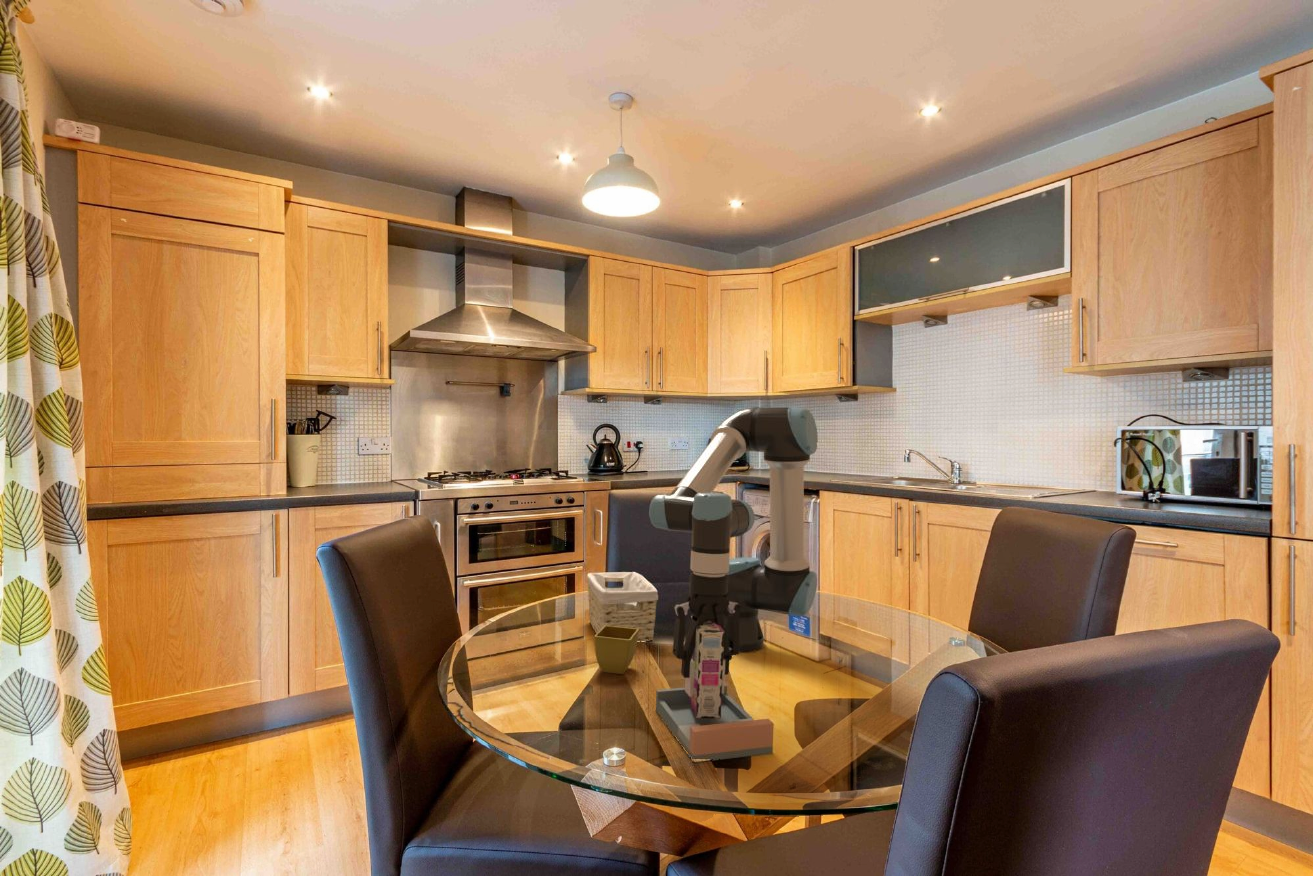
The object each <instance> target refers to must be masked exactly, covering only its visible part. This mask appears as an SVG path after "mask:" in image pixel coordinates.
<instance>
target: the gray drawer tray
mask: <svg viewBox="0 0 1313 876" xmlns="http://www.w3.org/2000/svg"><path fill="white" fill-rule="evenodd" d="M727 688H728V686H727V684H725V683H724V694H722V699H721V718H720V719H697V718H696V716H695V713H694V710H693V707H692V704H691V702H690V699H689V697H688V694H687V693H686V692H685V687H677V688H665V689H664V688H663V689H656V690H655V691H656V693H655V694H656V695H655V696H656V697H655V712H656V713H657V715H658V714H659V715H660V716H659V715H658V716H659V718H660V717H661V718H662V719H663V720H662V719H661V718H660V719H661V720H662V721H664V722H665V723H666V724H665V723H664V722H663V723H664V724H665V726H666V725H667V726H668V727H669V729H670V730H671V731H672V732H673V734H674V735H675V736H676V737H677V739H678V740H679V742H680V743H681V744H682V746H683V747H684V748H685V750H686V751H687V752H688V754H689V755H690V756H691V757H692V759H711V760H712V759H713V760H712V761H719V759H720V760H725V759H726V760H727V759H737V758H744V757H751V756H760V755H770V754H773V753H774V752H773V750H774V748H773V747H774V744H773V743H774V730H775V729H774V725H775V724H774V722H773V721H772V720H770V718H761V719H754V718H753V717H752V715H750V714H749V713H748V712H747V711H746V710H745V709H744V708H743V707H742V706H741V705H740V704H739V703H738V702H736V701H735V699H733V698H732V697H731V696H730V695H729V694H728V693H727V692H728V689H727ZM667 726H666V727H667ZM668 727H667V728H668ZM669 729H668V730H669ZM670 730H669V731H670ZM671 731H670V732H671ZM673 734H672V735H673Z"/></svg>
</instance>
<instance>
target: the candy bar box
mask: <svg viewBox="0 0 1313 876" xmlns="http://www.w3.org/2000/svg"><path fill="white" fill-rule="evenodd" d="M691 618H692V615H691V616H690V619H691ZM723 651H724V630H723V629H722V628H721V626H720V625H718V624H717V623H715V622H712V621H708V622H704V624H703V626H697V627H696V646H695V649H694V652H693V655H692V660H693V661H694V662H695V673H694V696H691V697H690V696H689V695H688V697H689V699H690V702H691V704H692V707H693V710H694V713H695V716H696V718H697V719H720V718H721V699H722V672H723Z"/></svg>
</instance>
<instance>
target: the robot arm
mask: <svg viewBox="0 0 1313 876" xmlns="http://www.w3.org/2000/svg"><path fill="white" fill-rule="evenodd" d="M818 439H819V438H818V428H817V424H816V421H815V418H814V415H813V414H812V412H811V411H810V410H809V409H807V408H804V407H793V406H788V407H787V406H786V407H783V406H782V407H781V406H780V407H779V406H778V407H775V406H774V407H771V406H769V407H765V406H764V407H759V406H756V407H755V406H754V407H753V406H752V407H751V406H750V407H748V408H744V409H742V410H739V411H737V412H735V413H732V415H730V416H729V417H727V418H726V419H724V420H723V421H722V422H720V424H718V425H717V427H716V428H715V429H714V430H713V432H712V433H711V435H710V442H709V443H708V444H707V446H706V448H704V450H703V451H702V453H700V455H699V457H698V458H697V459H696V460H695V462H694V463H693V464H692V465H691V466H690V468H689V469H688V470H687V472H686V474H685V475H684V476H683V477H682V478H681V480H680V481H679V483H678V484H677V485H676V486H675V488H674V489H673V490H672V492H671V493H670V494H666V493H665V494H657V495H655V496H654V497H653V498H652V499H651V502H650V504H649V510H648V517H649V518H650V519H649V520H650V523H651V525H652V526H653V527H655V528H656V529H662V530H667V531H670V532H671V531H673V532H684V533H691V547H690V565H689V567H690V568H689V569H690V571H692V572H691V573H690V574H689V586H688V587H689V592H688V593H689V595H688V598H687V600H686V602H683V603H681V604H679V603H675V604H674V605H673V611H674V615H675V620H674V630H673V631H674V633H673V641H672V642H673V643H672V644H673V645H672V654H673V655H674V657H676V659H678V660H681V670H680V671H681V676H682V677H683V678H685V679H684V680H685V681H684V682H685V683H684V688H685V692H686V693H687V694H688V695H689V696H690V697H691V696H694V673H695V662H694V661H693V660H692V655H693V652H694V649H695V646H696V627H697V626H703V624H704V622H708V621H712V622H715V623H717V624H718V625H720V626H721V628H722V629H723V630H724V651H723V672H722V694H724V684H725V681H726V679H725V678H726V677H725V676H726V675H727V676H728V675H729V672H730V661H731V660H732V659H733V656H738V655H739V653H750V652H751V653H752V652H756V651H759V650H761V649H763V648H764V644H765V643H764V641H765V639H764V633H763V630H762V626H761V623H760V619H759V610H760V611H767V612H771V613H772V612H773V613H779V614H782V615H783V614H784V615H788V616H799V617H803V616H806V615H808V613H809V612H810V611H811V609H812V606H813V604H814V600H815V597H816V592H817V587H818V577H817V576H818V575H817V573H816V572H814V571H812V570H810V568H811V567H810V562H809V561H808V560H807V559H806V558H805V557H804V553H805V552H804V548H805V547H804V543H805V542H804V537H805V536H804V530H805V529H804V526H805V524H804V523H805V522H804V521H805V520H804V519H805V518H804V516H805V515H804V514H805V513H804V511H805V510H804V509H805V508H804V507H805V506H804V503H805V502H804V501H805V499H804V497H805V496H804V495H805V494H804V493H805V492H804V491H805V490H804V488H805V485H804V484H805V482H804V481H805V480H804V478H805V475H804V474H805V473H804V472H805V469H804V468H805V466H806V465H807V463H809V462H810V460H811V459H810V457H811V455H814V454H815V453H816V451H817V450H818V449H817V448H818V442H819V441H818ZM747 452H748V453H749V452H759V453H763V460H764V462H765V463H766V464H767V465H768V466H769V544H770V545H769V548H770V549H769V550H770V551H769V556H768V558H766V559H765V560H764V563H763V564H764V565H763V564H762V562H761V559H760V558H757V557H735V558H734V557H732V558H730V551H731V550H730V549H731V538H735V537H737V538H738V537H742V536H744V534H746V533H748V532H750V530H751V529H752V528H753V527H754V524H755V519H756V518H755V517H756V516H755V512H754V509H753V508H752V506H751V505H750V504H749V503H748V502H746V501H745V500H741V499H734V498H733V499H732V498H731V496H730V495H729V494H727V493H720V492H714V491H715V489H716V488H717V486H718V485H719V484H720V482H721V481H722V479H723V478H724V477H725V475H726V473H727V472H728V471H729V469H730V468H731V466H732V464H733V463H734V462H735V460H738V459H740V458H742V456H744V454H745V453H747ZM688 610H689V611H690V612H691V616H692V618H691V617H690V625H689V628H688V630H687V635H686V638H685V634H686V616H687V615H688Z"/></svg>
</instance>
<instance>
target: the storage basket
mask: <svg viewBox="0 0 1313 876" xmlns="http://www.w3.org/2000/svg"><path fill="white" fill-rule="evenodd" d="M586 576H587V578H586V583H587V585H586V586H587V591H588V615H589V617H588V618H589V619H588V620H589V623H590V624H591V626H592V628H593V630H594V632H595V633H596V634H597V633H598V632H599V631H600V630H601V629H602V628H603V627H604V626H616V627H626V628H635V629H639V632H638V639H637V641H649V640H653V641H654V637H655V636H654V633H655V632H654V631H655V630H654V629H655V626H656V625H655V623H656V622H655V621H656V614H657V613H656V612H657V611H656V610H657V601H658V600H659V595H658V590H657V588H656V587H655V586H654V585H653V584H652V583H651V582H650V581H648V580H647V579H646V578H645V577H644V576H643V575H642V574H640V573H638V572H636V571H632V572H630V571H628V572H627V571H621V572H619V571H618V572H617V571H615V572H613V571H612V572H611V571H610V572H588V573H587V575H586ZM607 582H608V583H609V582H613V583H614V582H617V583H618V582H622V583H623V584H622V585H623V586H622V587H606V583H607ZM596 634H595V635H596ZM647 639H648V640H647Z"/></svg>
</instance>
